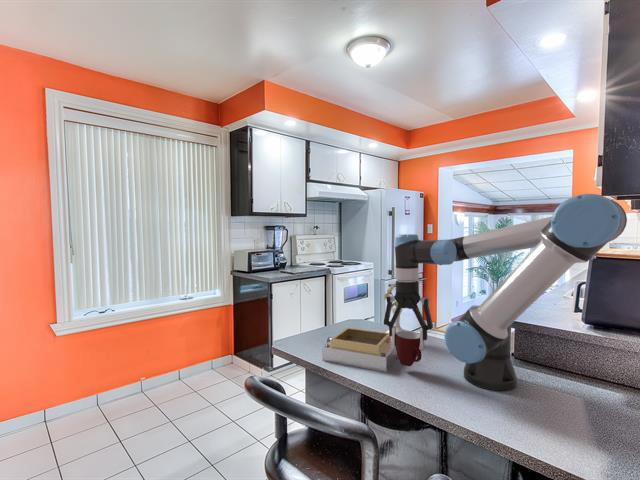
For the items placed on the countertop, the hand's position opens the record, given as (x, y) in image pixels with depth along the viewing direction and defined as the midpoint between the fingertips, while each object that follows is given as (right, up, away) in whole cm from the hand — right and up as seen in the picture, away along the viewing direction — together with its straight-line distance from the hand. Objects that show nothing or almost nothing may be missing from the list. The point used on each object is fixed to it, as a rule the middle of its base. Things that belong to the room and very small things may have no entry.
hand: (408, 347), depth 114 cm
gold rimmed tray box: (-16, -8, +15) cm, 23 cm away
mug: (0, -6, 0) cm, 6 cm away
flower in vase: (+3, -7, +32) cm, 32 cm away
